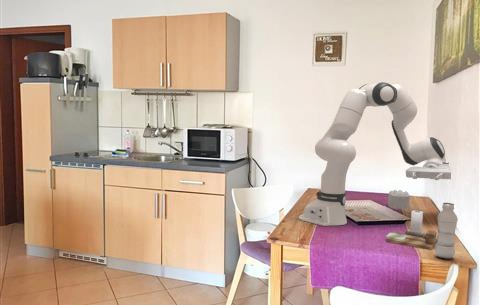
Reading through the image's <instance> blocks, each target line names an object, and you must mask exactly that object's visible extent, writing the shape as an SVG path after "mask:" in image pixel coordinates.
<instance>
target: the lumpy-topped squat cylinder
mask: <svg viewBox="0 0 480 305" xmlns="http://www.w3.org/2000/svg"><path fill="white" fill-rule="evenodd" d="M410 196H411V195H410V194H409V192H408V191H407V190H406V191H403V190H401V189H399V190H396V189H394V190H390V191H389V192H388V196H387V207H388V208H390V209H393V210H409V209H410V200H411V198H410Z"/></svg>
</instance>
